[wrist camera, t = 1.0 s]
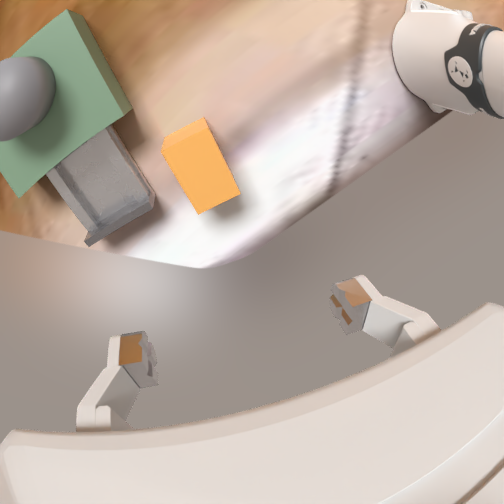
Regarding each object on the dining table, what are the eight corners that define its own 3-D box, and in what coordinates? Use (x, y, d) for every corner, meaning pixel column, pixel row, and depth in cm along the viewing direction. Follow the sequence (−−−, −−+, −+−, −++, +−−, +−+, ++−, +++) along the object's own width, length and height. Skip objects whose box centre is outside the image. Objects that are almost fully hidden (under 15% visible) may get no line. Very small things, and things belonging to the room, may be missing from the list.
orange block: (203, 117, 29) (207, 127, 25) (231, 173, 34) (240, 193, 30) (164, 137, 30) (160, 151, 25) (195, 191, 35) (198, 214, 30)
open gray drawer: (110, 122, 27) (102, 129, 24) (155, 194, 33) (153, 208, 31) (49, 168, 27) (37, 179, 24) (95, 230, 34) (88, 246, 31)
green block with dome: (82, 15, 18) (50, 2, 11) (133, 109, 27) (115, 124, 20) (-12, 101, 19) (-54, 119, 12) (35, 181, 28) (4, 216, 21)
